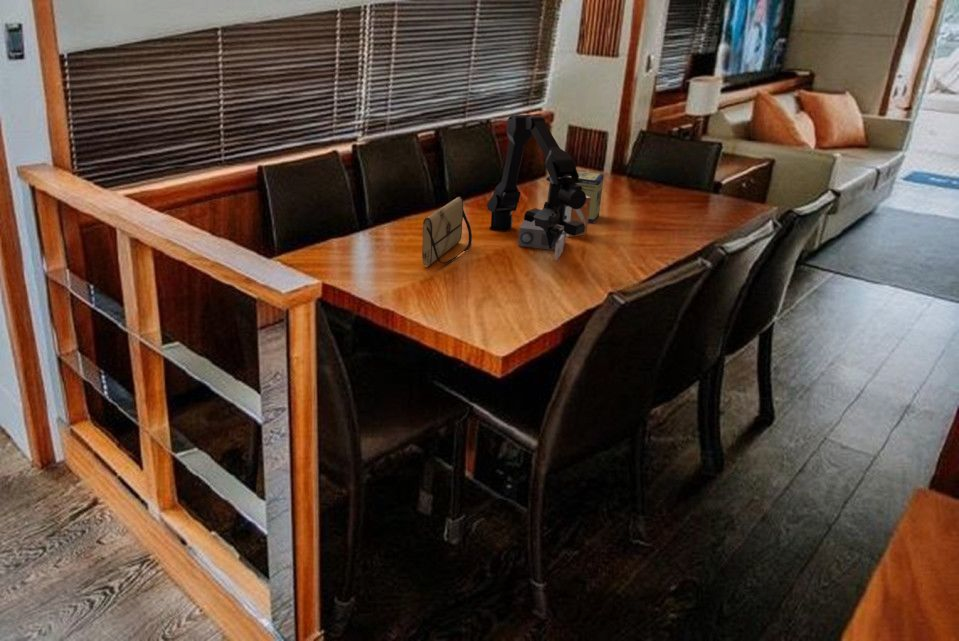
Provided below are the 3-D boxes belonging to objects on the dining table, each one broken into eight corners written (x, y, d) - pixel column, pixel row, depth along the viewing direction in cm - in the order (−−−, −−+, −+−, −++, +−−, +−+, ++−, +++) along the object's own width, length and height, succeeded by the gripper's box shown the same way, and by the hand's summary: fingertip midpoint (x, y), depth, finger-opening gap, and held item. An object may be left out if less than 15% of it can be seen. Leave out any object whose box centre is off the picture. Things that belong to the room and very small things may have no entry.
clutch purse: (442, 272, 226) (443, 221, 220) (419, 268, 228) (420, 218, 222) (476, 243, 252) (478, 197, 246) (455, 240, 254) (457, 194, 248)
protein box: (594, 223, 278) (599, 180, 272) (551, 217, 283) (555, 174, 276) (599, 216, 288) (604, 174, 281) (558, 210, 292) (562, 168, 286)
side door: (557, 260, 240) (558, 243, 238) (554, 260, 240) (555, 242, 238) (563, 251, 249) (565, 234, 246) (560, 250, 249) (561, 234, 247)
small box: (568, 237, 262) (572, 199, 256) (556, 232, 266) (560, 194, 261) (587, 234, 266) (591, 197, 261) (575, 229, 271) (579, 192, 265)
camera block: (517, 247, 250) (518, 227, 247) (522, 237, 259) (524, 218, 257) (561, 252, 247) (563, 232, 245) (565, 242, 257) (567, 222, 254)
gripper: (516, 196, 234) (510, 245, 241) (569, 212, 224) (561, 263, 231) (537, 189, 242) (531, 237, 249) (589, 205, 232) (581, 254, 239)
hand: (550, 248), depth 242 cm, fingers closed
